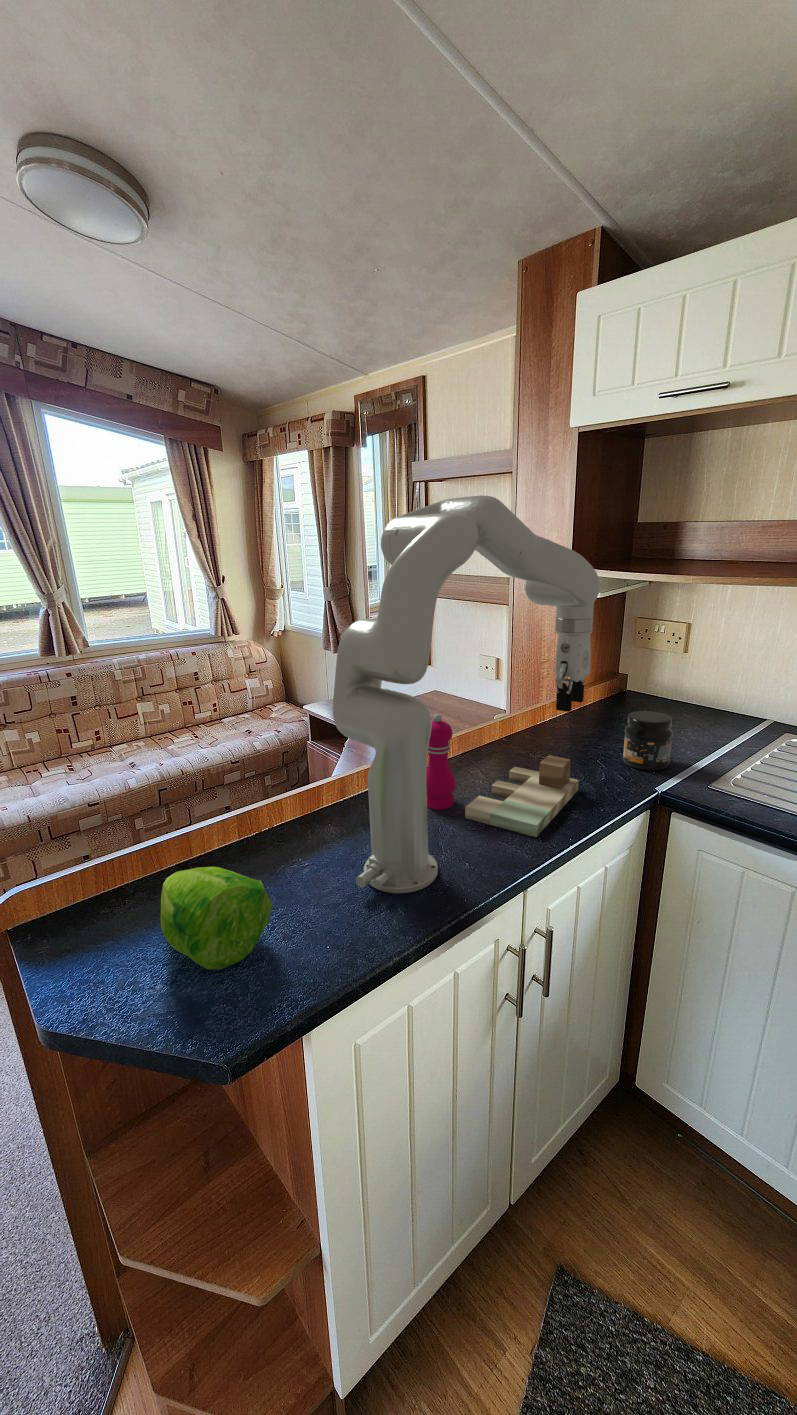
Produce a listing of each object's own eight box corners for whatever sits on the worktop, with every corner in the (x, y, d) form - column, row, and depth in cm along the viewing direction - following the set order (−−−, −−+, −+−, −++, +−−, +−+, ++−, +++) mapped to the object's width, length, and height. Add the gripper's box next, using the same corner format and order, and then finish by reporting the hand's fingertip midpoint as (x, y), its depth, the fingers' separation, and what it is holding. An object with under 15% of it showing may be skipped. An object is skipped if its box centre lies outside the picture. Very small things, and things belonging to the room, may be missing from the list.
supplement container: (613, 759, 142) (616, 713, 139) (649, 753, 145) (653, 708, 141) (641, 774, 132) (645, 725, 129) (679, 768, 135) (684, 720, 132)
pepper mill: (454, 812, 118) (453, 720, 112) (419, 810, 119) (417, 719, 114) (457, 796, 125) (457, 709, 119) (424, 795, 126) (422, 708, 120)
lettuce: (219, 893, 93) (209, 828, 90) (293, 949, 80) (285, 875, 76) (133, 936, 84) (119, 865, 80) (201, 1008, 70) (187, 926, 67)
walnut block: (561, 789, 121) (562, 767, 119) (538, 784, 123) (539, 762, 122) (569, 780, 125) (570, 759, 123) (547, 776, 127) (548, 755, 126)
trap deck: (536, 837, 107) (536, 825, 106) (465, 818, 115) (465, 806, 114) (577, 790, 126) (578, 779, 125) (514, 776, 134) (514, 766, 133)
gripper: (578, 633, 112) (573, 719, 117) (603, 621, 126) (598, 698, 131) (541, 631, 116) (538, 714, 121) (570, 619, 130) (566, 694, 135)
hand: (569, 705), depth 126 cm, fingers open, 7 cm apart
